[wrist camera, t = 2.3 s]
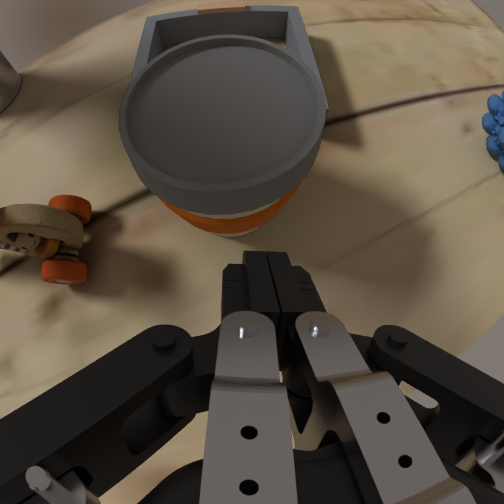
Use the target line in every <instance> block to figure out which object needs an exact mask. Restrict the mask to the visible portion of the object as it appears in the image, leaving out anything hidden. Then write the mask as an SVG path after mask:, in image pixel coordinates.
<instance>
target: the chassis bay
mask: <svg viewBox="0 0 504 504" xmlns="http://www.w3.org/2000/svg"><path fill="white" fill-rule="evenodd" d="M231 34H234V35H244V36H252V37H283V38H285V42H286V46H287V50H289V51H290V52H292V53H294V54H295V55H297V56H298V57H299V58H300V59H301V60H302V61H304V62H305V63H306V64H307V65H308V66H309V67H310V69H311V70H312V71H313V73H314V74H315V75H316V77H317V78H318V80H319V83H320V85H321V87H322V89H323V92H324V88H323V84H322V81H321V77H320V74H319V71H318V67H317V64H316V60H315V57H314V54H313V51H312V48H311V45H310V41H309V38H308V35H307V32H306V29H305V26H304V24H303V21H302V18H301V15H300V12H299V9H298V7H295V6H245V2H224V3H211V4H201V5H198V9H196V10H188V11H180V12H173V13H167V14H161V15H156V16H150V17H147V18H146V22H145V25H144V29H143V33H142V36H141V40H140V44H139V48H138V52H137V56H136V61H135V65H134V70H133V74H132V79H131V82H132V80H133V79H134V78H135V76H136V75H137V74H138V73H139V71H140V70H141V69H142V68H144V67H145V66H146V65H147V64H148V63H149V62H150V61H151V60H152V59H154V58H155V57H157V56H158V55H160V54H161V53H162V49H163V46H166V45H173V44H180V43H184V42H187V41H190V40H193V39H197V38H201V37H207V36H213V35H231ZM324 97H325V103H326V115H327V112H328V110H329V107H328V103H327V99H326V95H325V92H324ZM326 115H325V118H326Z"/></svg>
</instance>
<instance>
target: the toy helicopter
mask: <svg viewBox="0 0 504 504" xmlns="http://www.w3.org/2000/svg"><path fill="white" fill-rule="evenodd" d="M90 217H91V204H90V202H89V201H87V200H86V199H83V198H81V197H78V196H73V195H58V196H55V197H53V198H52V199H51V200H50V201H49V205H48V206H46V205H39V204H16V205H10V206H6V207H3V208H0V249H6V250H11V251H16V252H20V253H23V254H26V255H28V256H33V257H41V258H45V259H46V261H44V262H43V263H42V272H41V277H42V279H43V280H44V281H46V282H50V283H58V284H82V283H85V282H86V280H87V266H86V264H84V263H82V262H79V261H78V259H79V253H78V251H79V249H80V248H81V247H82V245H83V234H84V228H83V224H86V223H88V222H89V220H90Z"/></svg>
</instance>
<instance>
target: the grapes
mask: <svg viewBox="0 0 504 504" xmlns="http://www.w3.org/2000/svg"><path fill="white" fill-rule="evenodd" d="M487 105H488V109H489V113H486V114H485V115H484V116H483V117H482V126H483V129H484V130H485V132H486V133H488V134H490V136H489V137H488V138H487V142H486V145H487V150H488V151H489V153H490V154H491V155H493V156H497V155H499V158H498V162H499V166H500V168H501V169H502V171H504V91H503V93H502V99H501V97H499V96H498V95H496V94H493V95H491V96H490V97H489V98H488V102H487Z"/></svg>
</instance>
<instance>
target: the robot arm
mask: <svg viewBox="0 0 504 504" xmlns="http://www.w3.org/2000/svg"><path fill="white" fill-rule="evenodd" d="M21 82H22V79H21V77H20V75H19V74H18V73H17V72H16V70H15V69H14V68H13V66H12V65H11V64H10V63H9V61H8V60H7V59H6V57H5V56H4V55H3V54H2V52H1V51H0V112H2V111H3V110H4V109H5V108H6V107H7V106H8V105H9V104H10V102H11V101H12V100H13V99H14V97H15V96H16V94H17V92H18V91H19V89H20V86H21ZM279 371H281V372H282V376H283V379H282V383H280V378H279ZM402 380H403V381H404V382H406V383H408V384H409V385H411V386H413V387H414V388H416V389H418V390H419V391H421V392H423V393H425V394H426V395H428V396H430V397H431V398H433V399H435V400H436V401H437V402H438V403H439V404H438V405H437V406H436V407H435V408H431V409H429V408H425V407H423V406H422V405H420V404H418V403H417V402H415V401H413V400H412V399H410V398H408V397H407V396H405V395H403V393H402V392H401V390H400V388H399V387H398V386H399V384H400V383H401V381H402ZM205 411H209V412H208V421H207V430H206V440H205V449H204V459H201V460H198V461H194V462H192V463H190V464H187V465H185V466H183V467H181V468H179V469H177V470H176V471H174V472H173V473H171V474H170V475H169V476H167V477H166V478H165V479H164V480H162V481H161V482H160V483H159V484H158V485H157V486H156V487H155V488H154V489H153V490H152V491H151V492H150V493H148V494H147V495H146V496H145V497H144V498H143V499H142V500H141V501H140V502H139V503H137V504H504V384H503V383H501V382H500V381H498V380H496V379H494V378H492V377H491V376H489V375H487V374H485V373H483V372H482V371H480V370H478V369H476V368H474V367H472V366H471V365H469V364H467V363H465V362H464V361H462V360H460V359H458V358H457V357H455V356H453V355H451V354H449V353H448V352H446V351H444V350H442V349H440V348H439V347H437V346H435V345H433V344H431V343H430V342H428V341H426V340H424V339H422V338H421V337H419V336H417V335H415V334H413V333H411V332H410V331H408V330H406V329H404V328H402V327H399V326H395V325H384V326H381V327H379V328H378V329H376V331H375V333H374V335H373V338H372V337H366V336H361V335H355V334H351V333H348V331H347V329H346V328H345V326H344V324H343V323H342V322H341V321H340V320H339V319H338V318H336V317H335V316H333V315H331V314H328V313H327V312H326V310H325V308H324V305H323V303H322V301H321V299H320V296H319V294H318V292H317V291H316V288H315V285H314V284H313V281H312V279H311V277H310V274H309V273H308V272H307V271H305V270H304V269H303V268H302V267H301V266H292V265H291V263H290V260H289V258H288V255H287V253H286V252H269V251H266V252H265V251H244V252H243V262H242V264H228V265H227V266H226V268H225V269H224V270H223V276H222V300H221V324H220V325H219V326H218V327H217V328H216V329H215V330H214V331H212V332H210V333H207V334H205V335H201V336H196V337H191V336H190V334H189V333H188V332H187V331H185V330H184V329H182V328H180V327H177V326H173V325H156V326H153V327H150V328H148V329H146V330H144V331H143V332H141V333H139V334H138V335H136V336H135V337H133V338H131V339H130V340H128V341H127V342H125V343H123V344H122V345H120V346H119V347H117V348H115V349H114V350H112V351H111V352H109V353H107V354H106V355H104V356H103V357H101V358H99V359H98V360H96V361H95V362H93V363H91V364H90V365H88V366H86V367H85V368H83V369H82V370H80V371H78V372H77V373H75V374H74V375H72V376H70V377H69V378H67V379H65V380H64V381H62V382H61V383H59V384H57V385H56V386H54V387H52V388H51V389H49V390H48V391H46V392H44V393H43V394H41V395H39V396H38V397H36V398H34V399H33V400H31V401H30V402H28V403H26V404H25V405H23V406H21V407H20V408H18V409H16V410H15V411H13V412H12V413H10V414H8V415H7V416H5V417H3V418H2V419H0V504H101V503H100V501H99V499H98V498H99V497H100V496H101V495H103V494H104V493H105V492H107V491H108V490H109V489H111V488H112V487H113V486H115V485H116V484H117V483H118V482H120V481H121V480H122V479H124V478H125V477H126V476H127V475H129V474H130V473H131V472H132V471H134V470H135V469H136V468H137V467H138V466H140V465H141V464H142V463H143V462H145V461H146V460H147V459H148V458H149V457H151V456H152V455H153V454H154V453H155V452H156V451H158V450H159V449H160V448H161V447H162V446H164V445H165V444H166V443H167V442H168V441H169V440H170V439H172V438H173V437H174V436H175V435H176V434H177V433H178V432H180V431H181V430H182V429H183V428H184V427H185V426H186V425H187V424H188V423H190V422H191V421H192V420H193V419H194V417H195V415H196V414H197V413H201V412H205ZM291 430H292V434H293V437H294V442H295V449H293V446H292V436H291Z"/></svg>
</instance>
